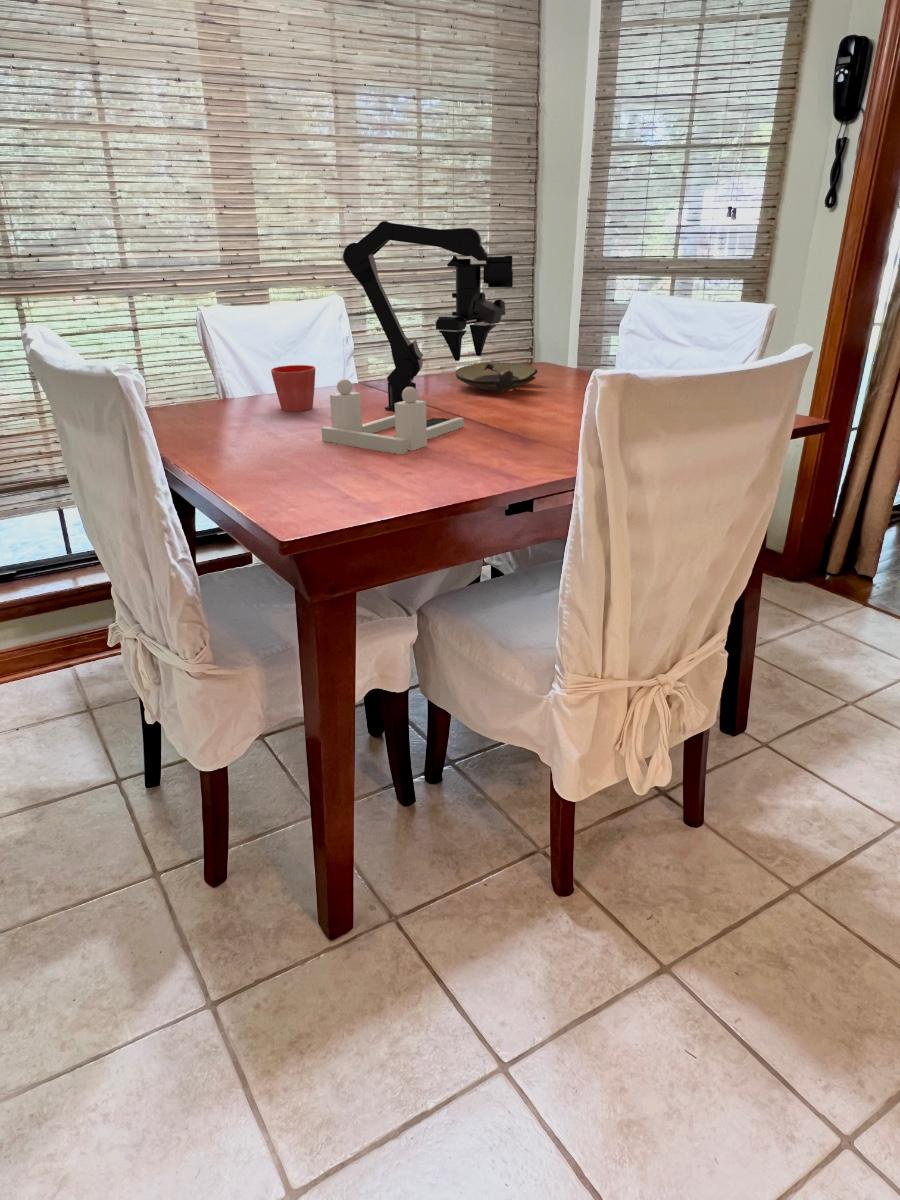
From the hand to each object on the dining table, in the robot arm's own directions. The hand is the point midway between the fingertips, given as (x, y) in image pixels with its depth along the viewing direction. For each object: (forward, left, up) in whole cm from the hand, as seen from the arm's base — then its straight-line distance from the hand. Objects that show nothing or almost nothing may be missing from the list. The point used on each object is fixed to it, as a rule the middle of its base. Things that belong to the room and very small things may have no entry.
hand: (468, 358), depth 193 cm
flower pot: (-37, -21, -12) cm, 44 cm away
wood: (+4, -24, -13) cm, 27 cm away
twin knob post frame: (+2, -30, -12) cm, 32 cm away
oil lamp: (-8, +25, -12) cm, 29 cm away
